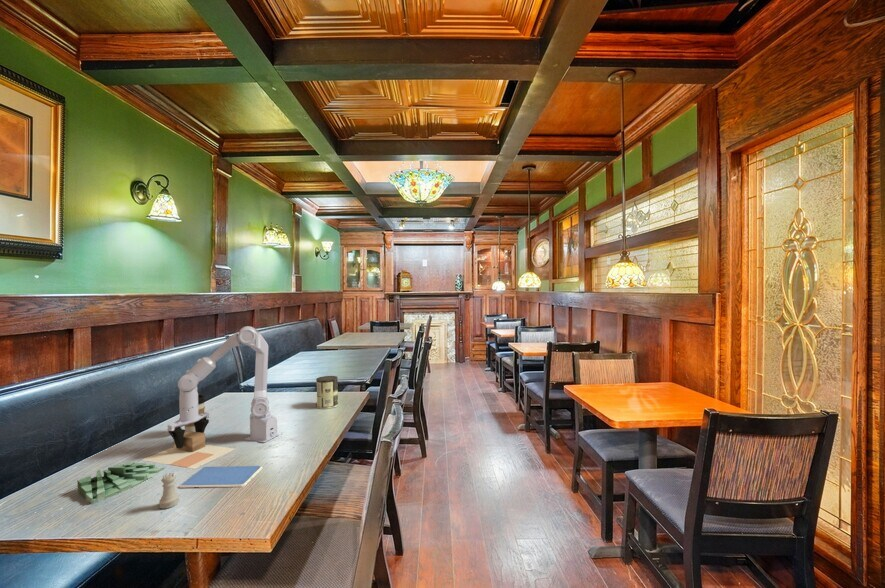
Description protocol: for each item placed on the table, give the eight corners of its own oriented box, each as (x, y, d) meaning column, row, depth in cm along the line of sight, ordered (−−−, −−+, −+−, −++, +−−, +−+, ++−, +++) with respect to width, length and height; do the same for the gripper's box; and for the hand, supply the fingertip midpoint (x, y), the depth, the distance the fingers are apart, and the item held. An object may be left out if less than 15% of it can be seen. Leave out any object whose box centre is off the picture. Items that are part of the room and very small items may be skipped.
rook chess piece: (165, 500, 103) (165, 471, 103) (183, 499, 104) (182, 470, 104) (154, 510, 99) (154, 479, 99) (172, 509, 99) (172, 478, 99)
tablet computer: (263, 468, 123) (263, 464, 123) (243, 489, 110) (243, 484, 110) (204, 470, 122) (204, 466, 122) (177, 490, 110) (177, 486, 110)
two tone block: (205, 446, 139) (205, 433, 139) (192, 452, 134) (192, 438, 134) (187, 444, 141) (186, 430, 141) (174, 449, 137) (173, 435, 137)
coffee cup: (176, 435, 152) (176, 398, 152) (197, 428, 160) (196, 392, 160) (190, 438, 149) (190, 400, 149) (210, 430, 157) (210, 394, 157)
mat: (235, 450, 136) (235, 448, 136) (194, 470, 121) (194, 468, 121) (185, 443, 144) (185, 441, 144) (141, 461, 128) (141, 459, 128)
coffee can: (331, 401, 196) (330, 374, 196) (342, 405, 189) (341, 377, 189) (312, 406, 188) (312, 378, 188) (323, 410, 181) (322, 381, 181)
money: (114, 472, 122) (114, 457, 122) (166, 470, 122) (166, 455, 122) (53, 507, 102) (53, 489, 102) (115, 505, 102) (115, 487, 102)
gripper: (198, 400, 146) (199, 435, 146) (160, 411, 132) (161, 450, 132) (212, 401, 144) (213, 437, 144) (175, 413, 130) (176, 452, 130)
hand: (189, 443), depth 138 cm, fingers open, 7 cm apart
